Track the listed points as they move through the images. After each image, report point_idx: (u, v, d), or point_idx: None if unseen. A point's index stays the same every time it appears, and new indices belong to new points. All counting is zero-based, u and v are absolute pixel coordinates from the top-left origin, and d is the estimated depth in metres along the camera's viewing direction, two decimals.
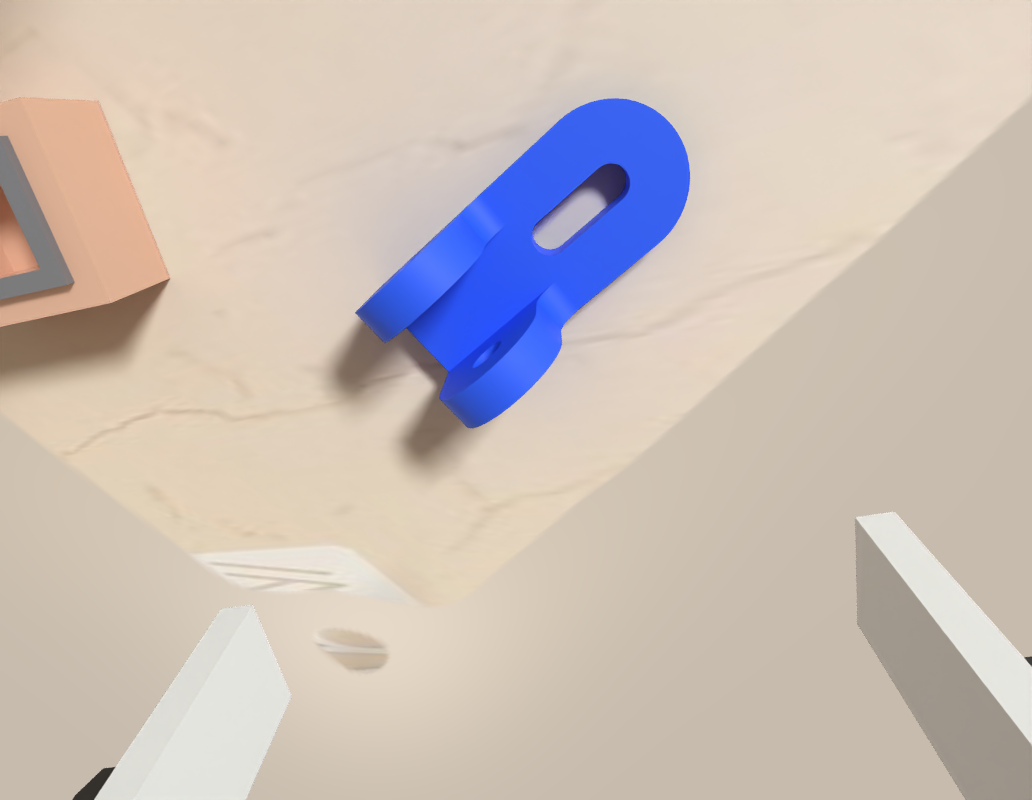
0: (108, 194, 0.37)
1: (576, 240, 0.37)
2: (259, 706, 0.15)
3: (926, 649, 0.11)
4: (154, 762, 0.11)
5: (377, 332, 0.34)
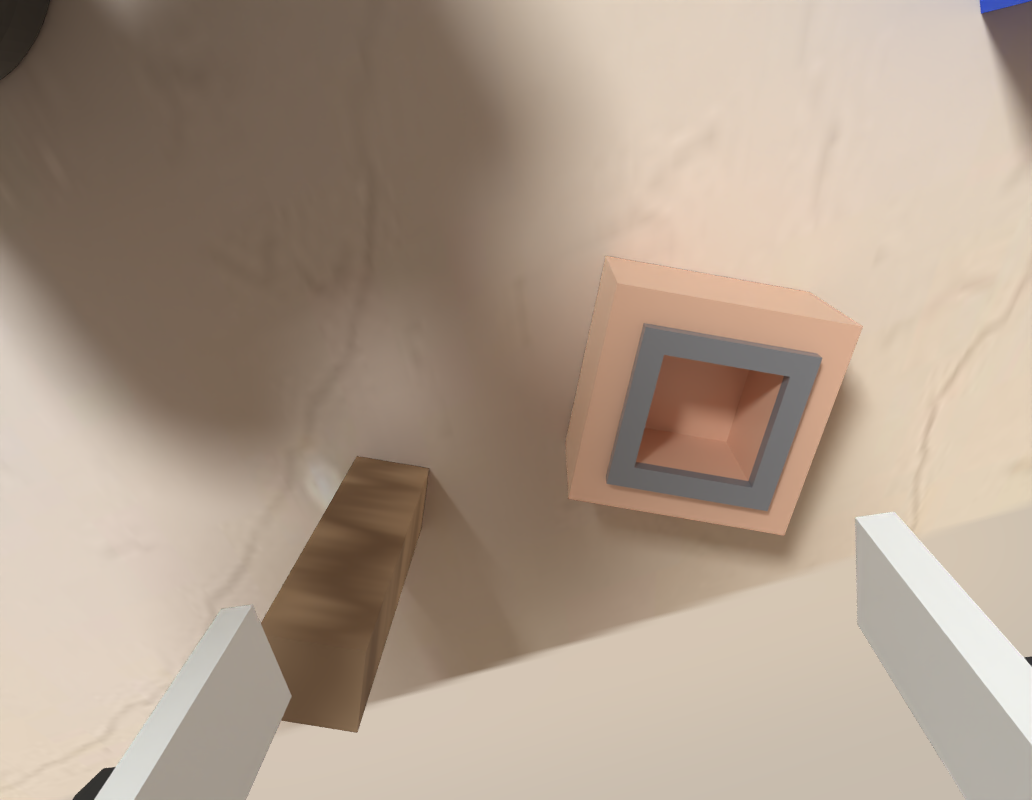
0: (716, 284, 0.30)
1: None
2: (259, 706, 0.15)
3: (925, 649, 0.11)
4: (154, 762, 0.11)
5: None
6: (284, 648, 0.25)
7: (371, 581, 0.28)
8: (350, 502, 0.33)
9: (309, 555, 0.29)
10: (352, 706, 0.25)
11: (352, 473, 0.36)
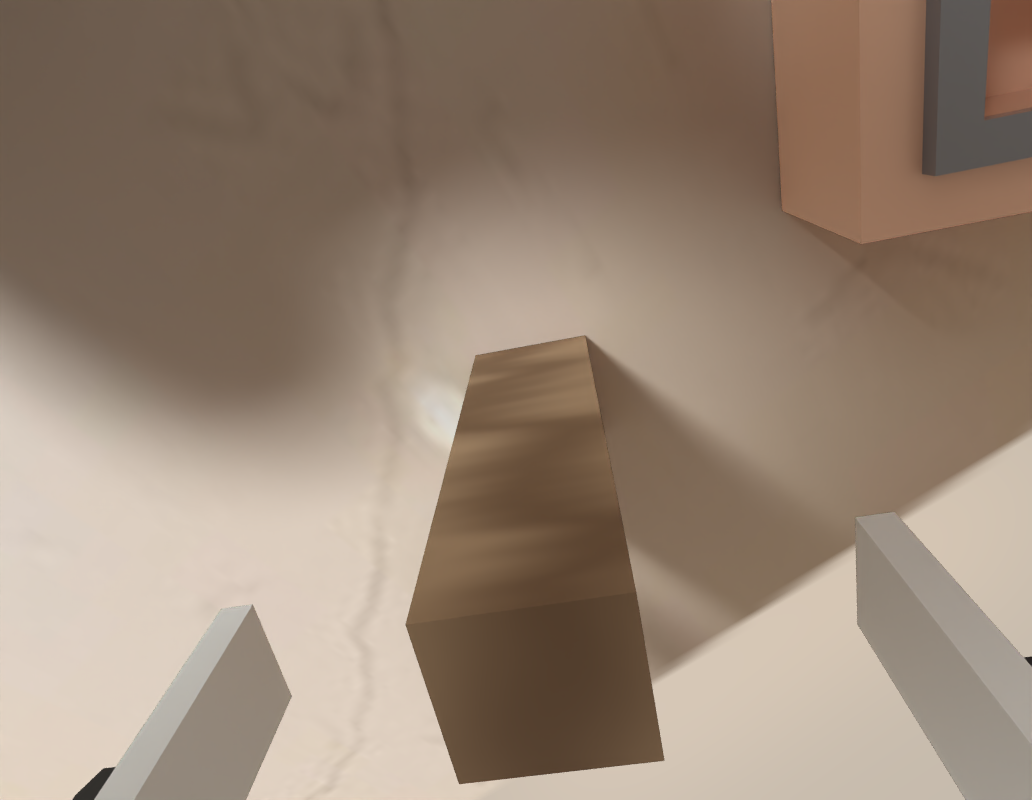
0: None
1: None
2: (259, 706, 0.15)
3: (925, 649, 0.11)
4: (154, 762, 0.11)
5: None
6: (471, 636, 0.12)
7: (580, 482, 0.15)
8: (491, 402, 0.20)
9: (457, 480, 0.16)
10: (640, 712, 0.12)
11: (478, 372, 0.23)
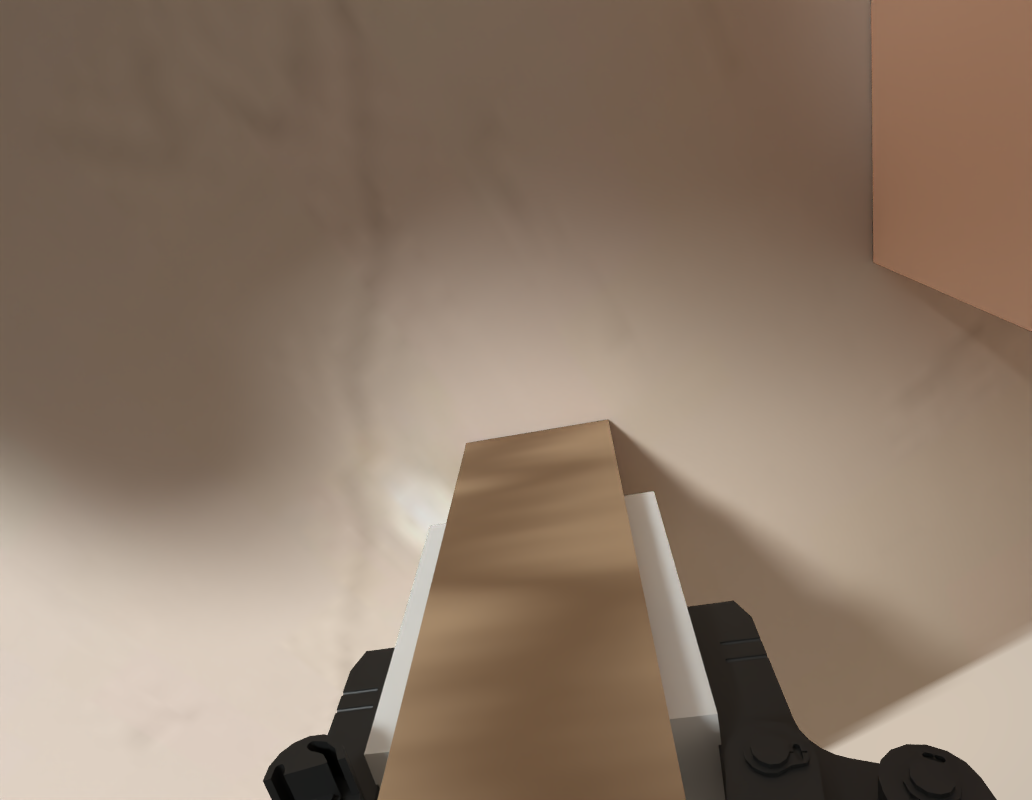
0: None
1: None
2: None
3: None
4: None
5: None
6: None
7: (617, 727, 0.09)
8: (483, 531, 0.15)
9: (425, 696, 0.11)
10: None
11: (468, 474, 0.17)
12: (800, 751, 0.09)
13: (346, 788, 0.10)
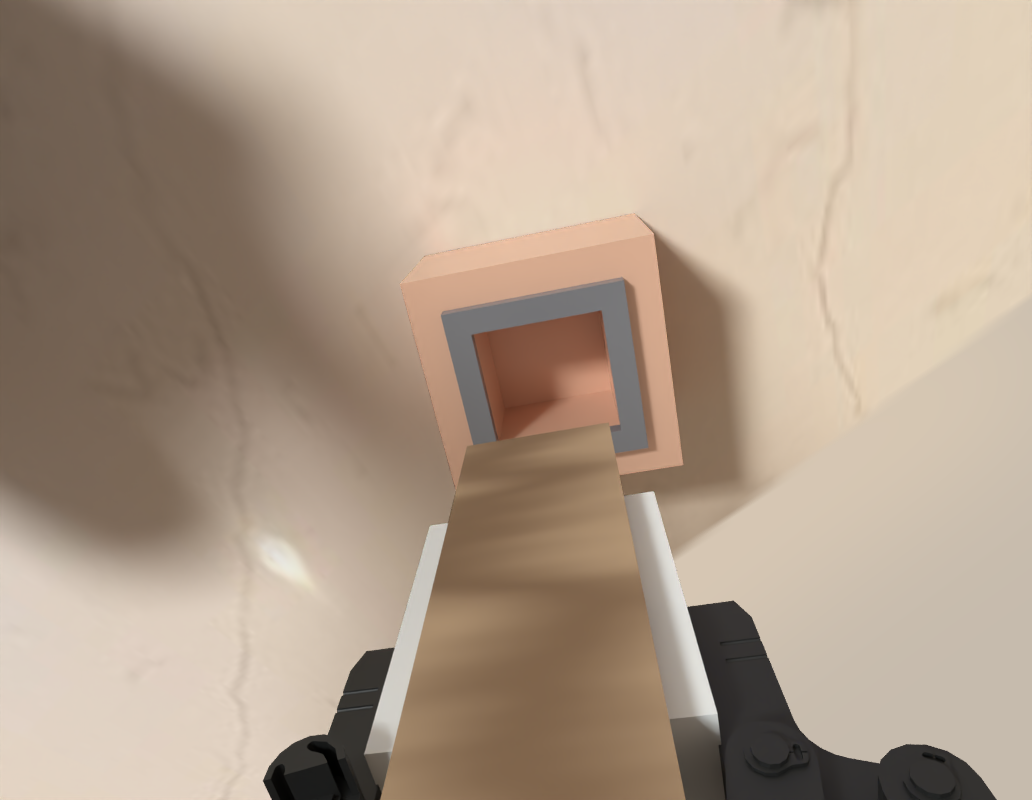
0: (522, 244, 0.30)
1: None
2: None
3: None
4: None
5: None
6: None
7: (618, 731, 0.09)
8: (484, 534, 0.15)
9: (426, 701, 0.11)
10: None
11: (469, 477, 0.17)
12: (800, 751, 0.09)
13: (346, 788, 0.10)
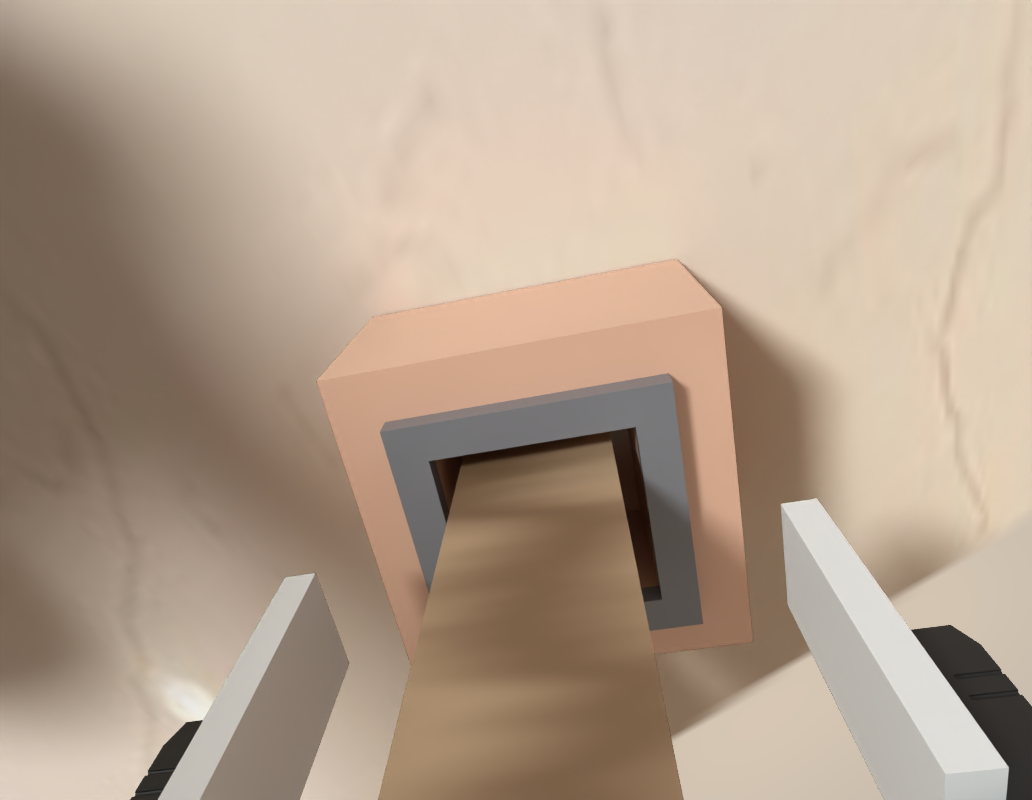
0: (511, 309, 0.20)
1: None
2: (323, 669, 0.15)
3: (832, 623, 0.12)
4: (241, 712, 0.12)
5: None
6: None
7: (601, 607, 0.12)
8: (491, 476, 0.17)
9: (447, 594, 0.13)
10: None
11: None
12: None
13: None
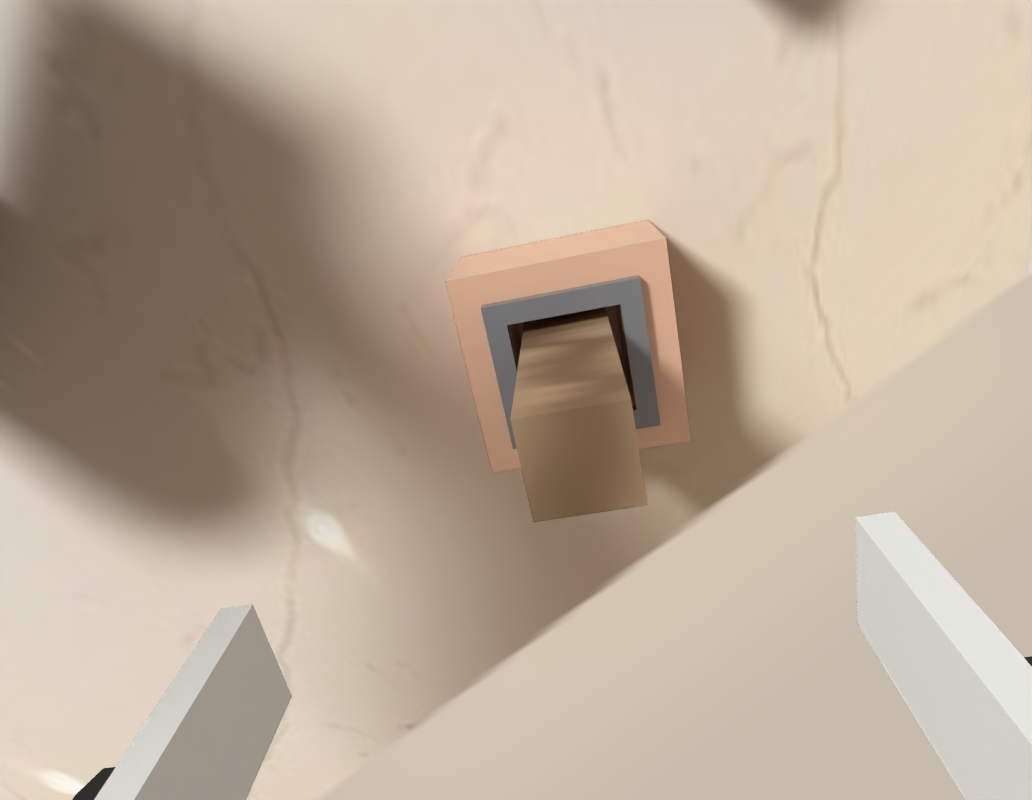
0: (549, 247, 0.34)
1: None
2: (259, 706, 0.15)
3: (925, 649, 0.11)
4: (154, 762, 0.11)
5: None
6: (545, 426, 0.23)
7: (601, 363, 0.26)
8: (541, 333, 0.31)
9: (526, 368, 0.27)
10: (634, 473, 0.23)
11: None
12: None
13: None
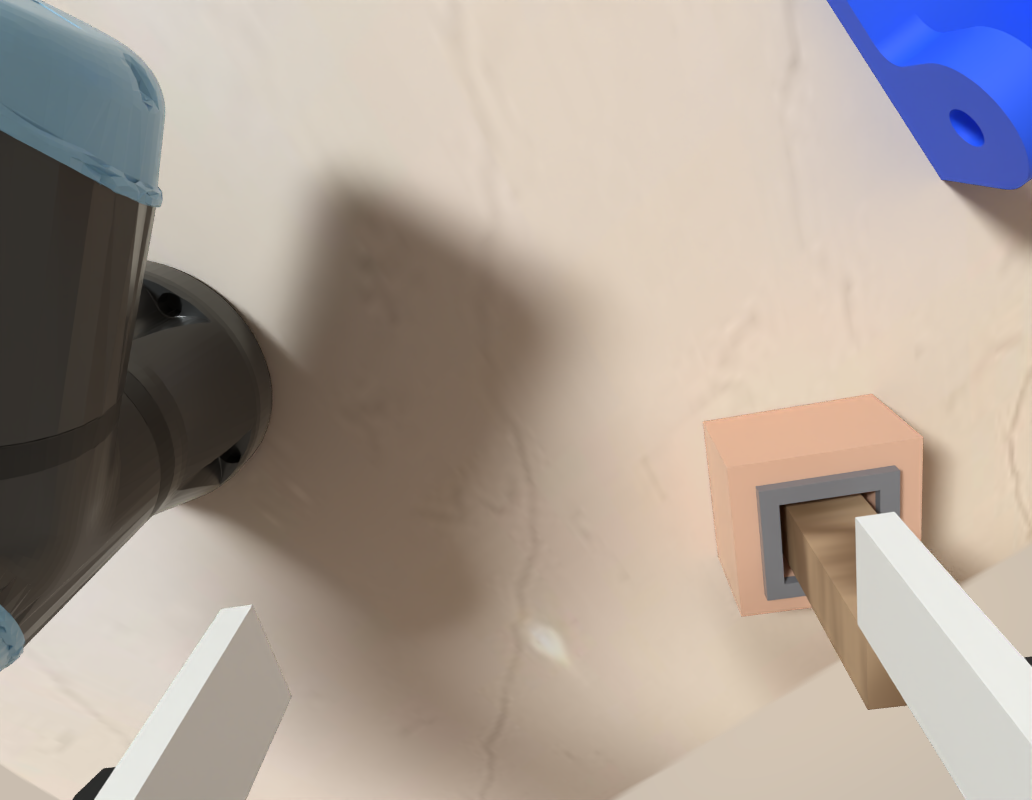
0: (797, 425, 0.39)
1: None
2: (259, 706, 0.15)
3: (925, 648, 0.11)
4: (154, 762, 0.11)
5: None
6: None
7: None
8: (808, 512, 0.36)
9: (830, 564, 0.32)
10: None
11: None
12: None
13: None
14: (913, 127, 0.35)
